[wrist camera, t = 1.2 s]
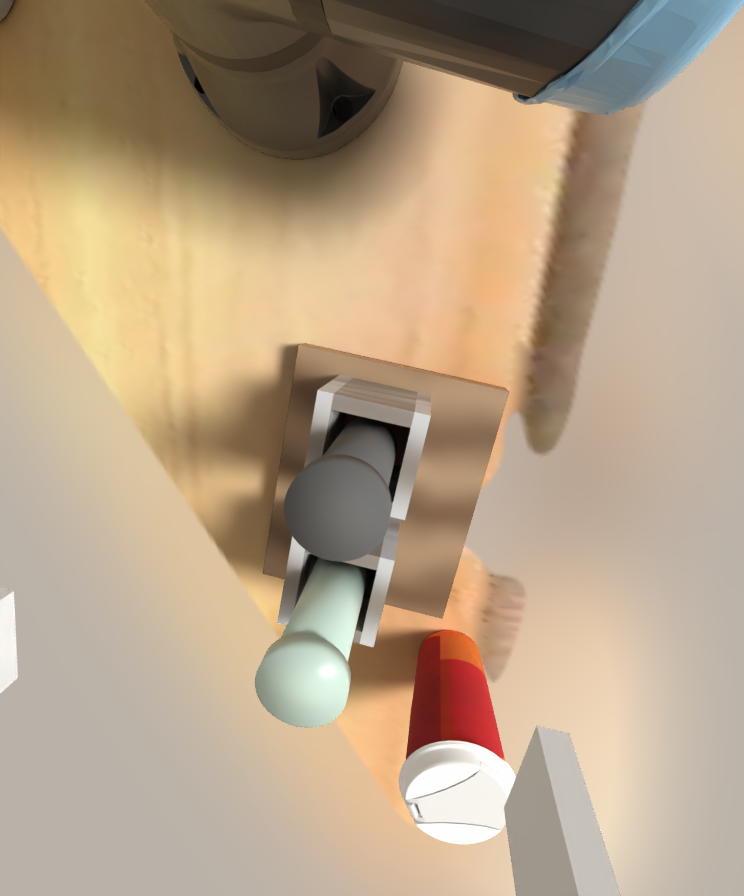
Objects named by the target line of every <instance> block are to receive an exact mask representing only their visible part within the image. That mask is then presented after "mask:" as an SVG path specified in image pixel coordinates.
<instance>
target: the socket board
mask: <svg viewBox="0 0 744 896" xmlns="http://www.w3.org/2000/svg"><path fill="white" fill-rule="evenodd" d="M508 394H509V391H508V390H507V389H506V388H504V387H500V386H495V385H491V384H486V383H482V382H477V381H473V380H468V379H464V378H459V377H455V376H450V375H446V374H441V373H437V372H432V371H428V370H423V369H419V368H414V367H410V366H405V365H401V364H396V363H392V362H387V361H383V360H378V359H374V358H369V357H365V356H360V355H356V354H351V353H347V352H342V351H338V350H333V349H329V348H324V347H320V346H315V345H311V344H306V343H304V344H300V345H298V352H297V358H296V365H295V371H294V377H293V384H292V390H291V396H290V403H289V409H288V416H287V422H286V428H285V435H284V441H283V447H282V454H281V460H280V467H279V473H278V479H277V486H276V492H275V499H274V505H273V511H272V518H271V524H270V530H269V537H268V543H267V550H266V556H265V562H264V569H263V574H266V575H270V576H274V577H278V578H282V579H285V581H284V587H283V593H282V599H281V604H280V610H279V616H278V622H277V623H280V624H284V625H287V624H288V622H289V620H290V618H291V615H292V613H293V611H294V609H295V607H296V604H297V602H298V600H299V598H300V596H301V594H302V591H303V589H304V587H305V585H306V583H307V580H308V578H309V576H310V574H311V572H312V570H313V567H314V565H315V563H316V561H317V559H318V558H319V557H317V556H315V555H313V554H311V553H309V552H308V551H307V550H305V549H304V548H303V547H302V546H300V545H299V544H298V543H297V541H296V540H295V539H294V538H293V536H292V534H291V533H290V531H289V529H288V527H287V524H286V521H285V516H284V500H285V496H286V493H287V490H288V488H289V486H290V485H291V483H292V482H293V480H294V479H295V478H296V477H297V475H298V474H299V473H300V472H301V471H302V469H303V468H304V467H305V466H307V465H308V464H309V463H311V462H312V461H314V460H316V459H318V458H320V457H323V455H324V454H325V453H326V451H327V450H328V449H329V447H330V446H331V445H332V443H333V442H334V441H335V439H336V438H337V437H338V435H339V434H340V433H341V431H342V430H343V429H344V427H345V426H346V425H347V424H348V423H350V422H351V421H353V420H355V419H358V418H362V417H365V418H370V419H374V420H378V421H383V422H384V423H385V424H387V425H388V426H389V427H390V428H391V430H392V431H393V433H394V435H395V437H396V440H397V453H396V457H395V462H394V466H393V470H392V474H391V478H390V482H389V487H388V488H389V491H390V495H391V502H392V509H391V515H390V520H389V525H388V529H387V532H386V534H385V536H384V538H383V540H382V541H381V543H380V544H379V545H378V546H377V547H376V548H375V549H374V550H373V551H372V552H370V553H369V554H367V555H365V556H363V557H361V558H358V559H355V560H351V561H342V562H345V563H349V564H353V565H357V566H361V567H365V568H366V569H367V582H366V587H365V591H364V595H363V599H362V604H361V608H360V612H359V616H358V621H357V625H356V629H355V633H354V637H353V642H354V643H358V644H362V645H366V646H370V647H374V643H375V639H376V635H377V631H378V627H379V623H380V619H381V615H382V611H383V607H384V604H386V605H390V606H394V607H398V608H402V609H406V610H410V611H414V612H418V613H422V614H426V615H430V616H434V617H438V618H443V615H444V611H445V608H446V605H447V601H448V598H449V595H450V591H451V588H452V584H453V581H454V578H455V574H456V571H457V567H458V564H459V561H460V557H461V554H462V550H463V547H464V544H465V540H466V536H467V533H468V530H469V526H470V523H471V520H472V516H473V513H474V510H475V506H476V502H477V499H478V496H479V493H480V489H481V486H482V482H483V479H484V476H485V472H486V469H487V465H488V462H489V459H490V455H491V452H492V448H493V445H494V442H495V438H496V435H497V431H498V428H499V425H500V421H501V418H502V415H503V411H504V408H505V404H506V401H507V398H508Z"/></svg>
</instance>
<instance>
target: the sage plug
mask: <svg viewBox="0 0 744 896" xmlns="http://www.w3.org/2000/svg"><path fill="white" fill-rule="evenodd" d="M366 582H367V569H366V568H365V567H361V566H357V565H353V564H349V563H345V562H338V561H330V560H325V559H322V558H318V559H317V561H316V563H315V565H314V567H313V570H312V572H311V574H310V576H309V578H308V580H307V583H306V585H305V587H304V589H303V591H302V594H301V596H300V598H299V600H298V602H297V604H296V607H295V609H294V611H293V613H292V615H291V618H290V620H289V622H288V624H287V626H286V628H285V631H284V633H283V635H282V637H281V638H280V639H279V640H277V641H276V642H275V643H273V644H272V645H271V647H269V649H268V651H267V652H266V654H265V656H264V658H263V660H262V662H261V665H260V666H259V668H258V671H257V674H256V678H255V687H256V692H257V695H258V698H259V700H260V701H261V703H262V705H263V706H264V707H265V708H266V710H267V711H268V712H270V713H271V714H272V715H273V716H275V717H276V718H277V719H279V720H281V721H283V722H285V723H287V724H290V725H293V726H297V727H305V728H309V727H310V728H311V727H318V726H322V725H325V724H328V723H330V722H331V721H333V720H334V719H336V718H337V717H338V716H339V715H340V714H341V712H342V711H343V709H344V707H345V705H346V702H347V697H348V692H349V688H350V683H351V671H350V667H349V664H348V659H349V654H350V650H351V646H352V642H353V637H354V633H355V629H356V625H357V621H358V616H359V612H360V608H361V604H362V599H363V595H364V591H365V587H366Z"/></svg>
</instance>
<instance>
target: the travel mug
mask: <svg viewBox="0 0 744 896" xmlns="http://www.w3.org/2000/svg"><path fill="white" fill-rule="evenodd" d="M13 1H14V0H0V21H1V20H2V19H3V18H4V17H5V16H6V15H7V13H8V12H9V10H10V8H11V6H12V3H13Z"/></svg>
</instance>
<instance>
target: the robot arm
mask: <svg viewBox="0 0 744 896" xmlns="http://www.w3.org/2000/svg"><path fill="white" fill-rule="evenodd" d="M144 1H145V2H146V3H147V4H148V6H149V7H150V8H151V9H152V10H153V11H154V12H155V13H156V14H157V15H158V16H159V17H160V18H161V20H162V21H163V22H164V23H165V24H166V25H167V26H168V27H169V29H170V32H171V35H172V37H173V40H174V43H175V46H176V49H177V51H178V54H179V57H180V60H181V63H182V65H183V68H184V70H185V73H186V75H187V77H188V79H189V81H190V83H191V85H192V87H193V89H194V90H195V92H196V93H197V95H198V97H199V98H200V100H201V101H202V102H203V104H204V105H205V107H206V108H207V109H208V110H209V112H210V113H211V114H212V115H213V116H214V117H215V118H216V119H217V120H218V121H219V122H220V123H221V124H222V125H223V126H224V127H225V128H226V129H228V130H229V131H230V132H231V133H232V134H233V135H234V136H235V137H237V138H238V139H239V140H241V141H242V142H243V143H245V144H247V145H248V146H250V147H252V148H253V149H255V150H257V151H260V152H262V153H265V154H268V155H270V156H274V157H278V158H285V159H308V158H314V157H318V156H322V155H325V154H328V153H331V152H333V151H335V150H337V149H339V148H341V147H343V146H345V145H346V144H348V143H349V142H351V141H352V140H354V139H355V138H356V137H357V136H359V135H360V134H361V133H362V132H363V131H364V130H365V129H366V128H367V127H368V126H369V125H370V124H371V123H372V122H373V121H374V119H375V118H376V117H377V116H378V114H379V113H380V111H381V110H382V109H383V107H384V105H385V104H386V102H387V100H388V99H389V97H390V95H391V93H392V91H393V89H394V86H395V84H396V82H397V79H398V76H399V73H400V70H401V67H402V63H403V61H406V62H410V63H413V64H416V65H420V66H423V67H427V68H430V69H433V70H437V71H440V72H444V73H447V74H450V75H454V76H457V77H461V78H464V79H467V80H471V81H474V82H478V83H481V84H484V85H488V86H491V87H495V88H498V89H501V90H505V91H508V92H512V93H513V98H514V99H515V100H516V101H518V102H520V103H522V104H526V105H530V104H540V103H544V102H545V103H549V104H553V105H557V106H562V107H566V108H570V109H574V110H578V111H583V112H587V113H591V114H598V115H599V114H611V113H615V112H617V111H619V110H623V109H625V108H627V107H632V106H635V105H637V104H639V103H641V102H643V101H645V100H647V99H648V98H650V97H651V96H652V95H654V94H655V93H657V92H658V91H660V90H661V89H662V88H664V87H665V86H666V85H667V84H668V83H669V82H671V81H672V80H673V79H674V78H675V77H677V76H678V75H679V74H680V73H681V72H682V71H683V70H684V69H685V68H686V67H687V66H688V65H689V64H691V62H693V61H694V60H695V58H697V57H698V55H699V54H700V53H701V52H702V51H703V50H704V49H705V48H706V47H707V46H708V45H709V44H710V43H711V42H712V41H713V40H714V38H715V37H716V36H717V35H718V34H719V33H720V32H721V31H722V29H723V28H724V27H725V26H726V25H727V24H728V23H729V21H730V20H731V19H732V18H733V17H734V16H735V14H736V13H737V12H738V11H739V10H740V8H741V7H742V6H743V5H744V0H144ZM17 678H18V672H17V650H16V629H15V607H14V591H11V590H7V589H3V588H0V693H1V692H2V691H3V690H5V689H6V688H7V687H8V686H9V685H10V684H11V683H12V682H13V681H15V680H16V679H17ZM504 813H505V820H506V827H507V833H508V841H509V848H510V855H511V862H512V869H513V877H514V883H515V891H516V896H621V894H620V891H619V888H618V885H617V882H616V879H615V875H614V872H613V869H612V866H611V863H610V860H609V856H608V853H607V850H606V847H605V844H604V841H603V838H602V834H601V831H600V828H599V825H598V822H597V819H596V815H595V812H594V809H593V806H592V803H591V800H590V797H589V794H588V790H587V787H586V784H585V781H584V778H583V775H582V771H581V768H580V765H579V762H578V759H577V756H576V752H575V750H574V746H573V743H572V740H571V737H570V734H569V733H565V732H561V731H557V730H553V729H549V728H545V727H541V726H536V729H535V731H534V734H533V736H532V739H531V741H530V744H529V746H528V749H527V751H526V754H525V756H524V759H523V761H522V764H521V766H520V769H519V771H518V774H517V777H516V779H515V781H514V784H513V786H512V789H511V791H510V794H509V796H508V799H507V801H506V804H505V806H504Z"/></svg>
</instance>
